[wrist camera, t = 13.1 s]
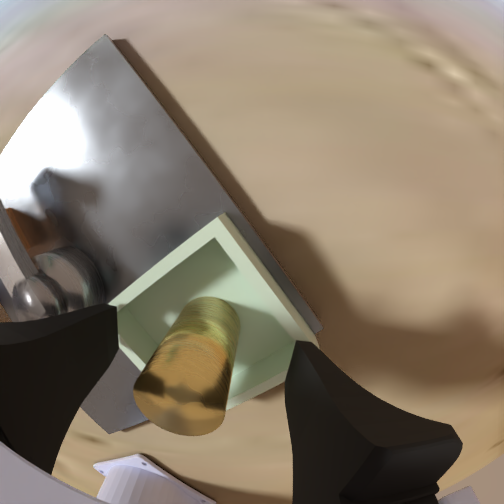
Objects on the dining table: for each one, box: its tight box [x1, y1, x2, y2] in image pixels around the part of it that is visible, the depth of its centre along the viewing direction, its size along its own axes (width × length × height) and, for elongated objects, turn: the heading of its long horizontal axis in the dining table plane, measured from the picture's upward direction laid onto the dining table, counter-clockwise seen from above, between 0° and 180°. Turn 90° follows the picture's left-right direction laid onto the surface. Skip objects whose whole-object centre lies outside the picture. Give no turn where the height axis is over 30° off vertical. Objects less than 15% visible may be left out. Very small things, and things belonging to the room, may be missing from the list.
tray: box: [108, 212, 320, 410], centre depth 12 cm, size 7×7×2 cm
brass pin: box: [133, 296, 241, 436], centre depth 10 cm, size 3×3×6 cm
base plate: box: [0, 34, 324, 434], centre depth 11 cm, size 19×17×4 cm
